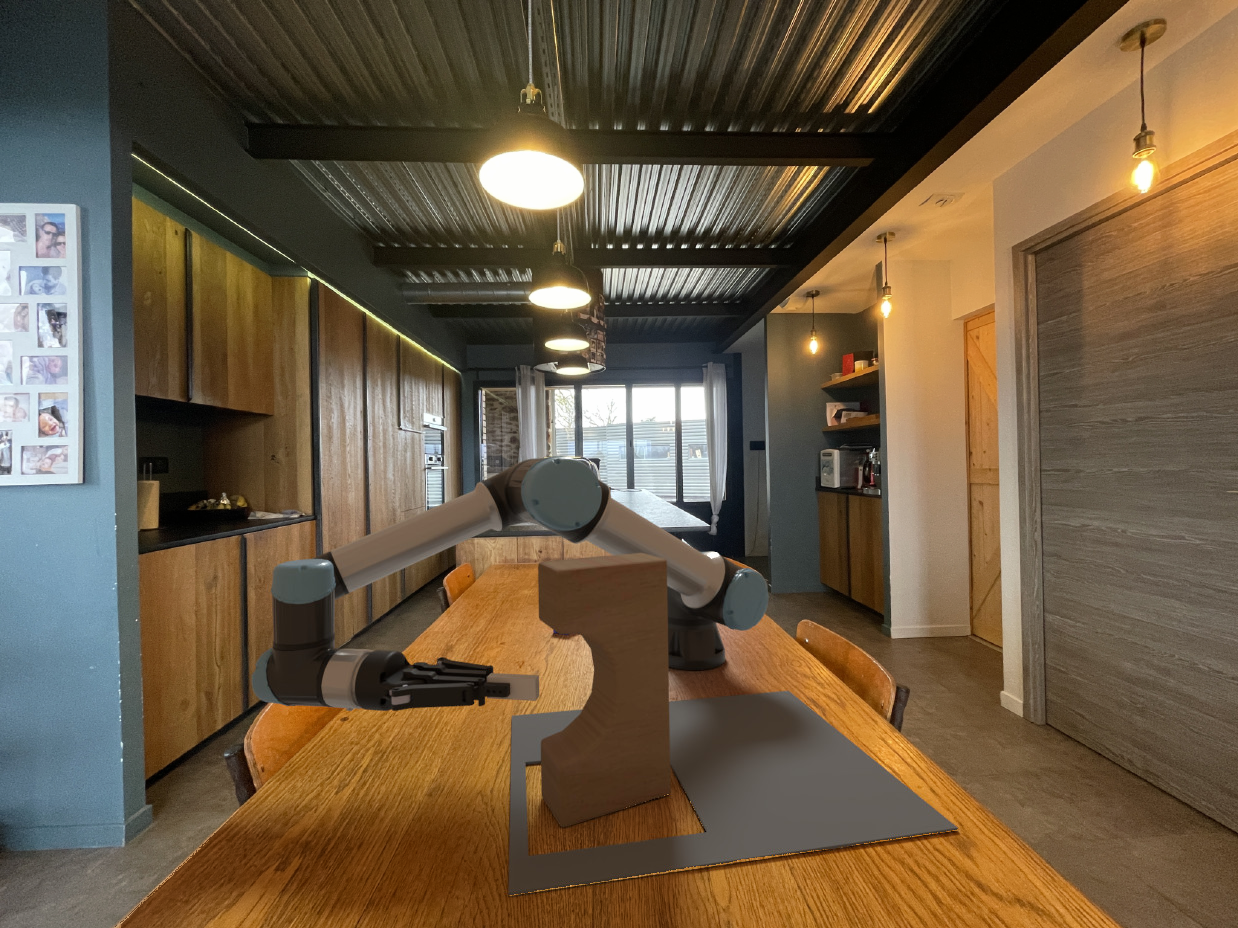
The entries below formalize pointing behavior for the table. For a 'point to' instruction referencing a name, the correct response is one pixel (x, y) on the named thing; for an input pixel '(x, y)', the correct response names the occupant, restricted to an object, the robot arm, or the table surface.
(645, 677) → the decorative block
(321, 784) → the table surface
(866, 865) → the table surface
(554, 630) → the rubik's cube
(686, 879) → the table surface
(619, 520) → the robot arm
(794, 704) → the mat
